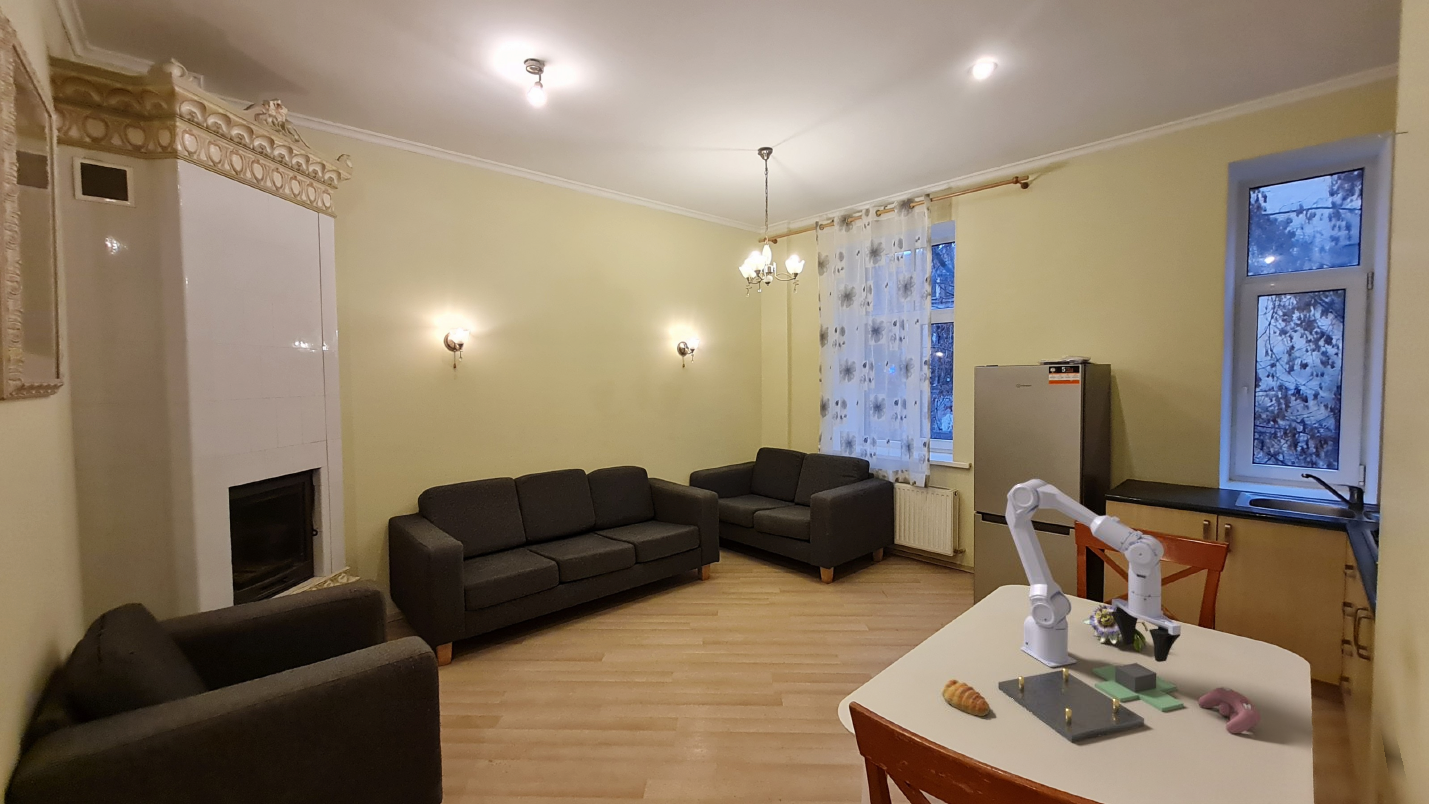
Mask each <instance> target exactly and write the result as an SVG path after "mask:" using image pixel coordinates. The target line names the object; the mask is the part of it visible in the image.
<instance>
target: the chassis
mask: <svg viewBox="0 0 1429 804" xmlns="http://www.w3.org/2000/svg"><path fill="white" fill-rule="evenodd" d="M997 683H998V685H997V686H998V688H999V690H1000V691H1001V690H1002V691H1003V692H1002V691H1001V692H1002V693H1004V694H1005V693H1006V694H1007V696H1008V697H1009V696H1010V697H1011V698H1010V697H1009V698H1010V699H1012V698H1013V699H1014V700H1013V699H1012V700H1013V701H1015V702H1016V701H1017V702H1018V703H1017V702H1016V703H1017V704H1018V705H1020V704H1021V705H1022V706H1021V705H1020V706H1021V707H1022V708H1024V707H1025V708H1026V709H1025V708H1024V709H1025V710H1026V711H1028V710H1029V711H1030V712H1029V711H1028V712H1029V713H1031V712H1032V713H1033V714H1032V713H1031V714H1032V715H1034V717H1036V716H1037V717H1036V718H1037V719H1039V720H1040V719H1041V720H1040V721H1042V722H1043V723H1045V725H1047V726H1048V727H1050V728H1051V729H1052V730H1054V731H1055V732H1057V733H1058V734H1059V735H1061V736H1062V737H1063V738H1065V740H1068V742H1070V743H1076V742H1079V741H1084V740H1088V739H1092V738H1096V737H1101V736H1106V735H1109V734H1114V733H1119V732H1123V731H1128V730H1131V729H1135V728H1140V727H1144V726H1145V718H1144V717H1142V716H1141V715H1139V714H1137V713H1136V712H1134V711H1133V710H1131V709H1130V708H1127V707H1126V706H1124V705H1122V704H1121V703H1120V702H1119V699H1117V698H1112V697H1111V698H1110V696H1107V694H1105V693H1103V692H1102V691H1100V690H1098V689H1097V688H1095V687H1093V686H1091V685H1090V684H1087V683H1086V682H1084V681H1082V680H1081V679H1080V678H1077V677H1076V676H1074V675H1072V674H1071V673H1069V668H1066V667H1063V668H1062V669H1061V670H1060V669H1059V670H1055V671H1051V672H1049V671H1048V672H1044V673H1040V674H1034V675H1030V676H1018V678H1013V679H1008V680H1004V681H998V682H997ZM998 688H997V689H998ZM1006 694H1005V695H1006Z"/></svg>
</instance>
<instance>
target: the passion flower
mask: <svg viewBox="0 0 1429 804" xmlns="http://www.w3.org/2000/svg"><path fill="white" fill-rule="evenodd" d="M1098 606H1099V607H1097V608H1095V610H1093V612H1094V614H1091V615H1089V618H1087V619H1083V621H1082V622H1083V623H1084V624H1085V625H1089V626H1091V628H1093V630H1094V632H1093V637H1097V638H1099V643H1100V644H1105V643H1107V641H1108V639H1109V640H1110V642H1111V643H1112V644H1113V645H1116V644H1118V643H1119V639H1120V636H1121V633H1120V630H1119V627H1118V625H1117V623H1116V621H1115V619H1114V618H1113V616H1112V615H1111V612H1113V611H1116V610H1117V609H1115V608H1113V607H1112V604H1110V605H1106V604H1103V605H1102V604H1098ZM1140 623H1141V625H1142V626H1143V627H1144V631H1145V632H1149V628H1148V627H1147V625H1146V623H1145V621H1137V623H1136V624H1140ZM1141 642H1142V643H1141ZM1142 644H1143V645H1144V648H1145V649H1146V648H1147V641H1146V637H1145V636H1144V634H1142V632H1141V631H1139V630H1138V629H1137V628H1135V641H1134V644H1132V645H1133V647H1134V649H1135V650H1136V651H1138V652H1141V650H1142Z"/></svg>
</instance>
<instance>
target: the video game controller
mask: <svg viewBox="0 0 1429 804" xmlns="http://www.w3.org/2000/svg"><path fill="white" fill-rule="evenodd" d="M1197 704H1198V706H1199V707H1200V708H1201V709H1210V708H1211V709H1212V708H1215V707H1218V706H1219V714H1221V715H1223V716H1224V717H1227V718H1229V721H1228V722H1227V723H1226V726H1225V730H1226V731H1227V732H1228V733H1230V734H1241V733H1244V732H1246V731H1248V730H1249V729H1250V728H1252V727H1253V726H1256V725H1258V723H1259V722H1260V719H1261V715H1260V712H1259V711H1258V710H1257V709H1256V708H1255V706H1254V704H1253V703H1252V702H1251V701H1250V700H1249V699H1248V698H1247V697H1246V696H1245V695H1243V694H1241V693H1240V692H1238V691H1236V690H1233V689H1232V688H1229V687H1225V686H1223V685H1222V686H1221V687H1216V688H1214V689H1213V690H1211V691H1210V692H1208V693H1206V694H1203V695H1202V696H1201V697H1200V698H1199V699H1198V701H1197ZM1235 711H1236V712H1235Z"/></svg>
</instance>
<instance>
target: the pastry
mask: <svg viewBox="0 0 1429 804" xmlns="http://www.w3.org/2000/svg"><path fill="white" fill-rule="evenodd" d="M941 696H942V697H943V699H944V700H945V702H946V703H947V704H949V705H951V706H952V707H953V708H955V709H957V710H960V711H962V712H965V713H966V714H969V715H973V716H978V717H983V716H986V715H987V714H989V711H990V709H991V708H990V704H989V703H988V702H987V701H986V698H985V697H984V696H982V694H981V693H980V692H979V691H977V690H976V689H975V688H974V687H973V686H972V685H971V686H969V685H968V683H966V682H964V681H963V682H959V681H958V680H957V679H950V680H948V681H947V682H946V684H945V685H944V686H943V688H942V691H941Z"/></svg>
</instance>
